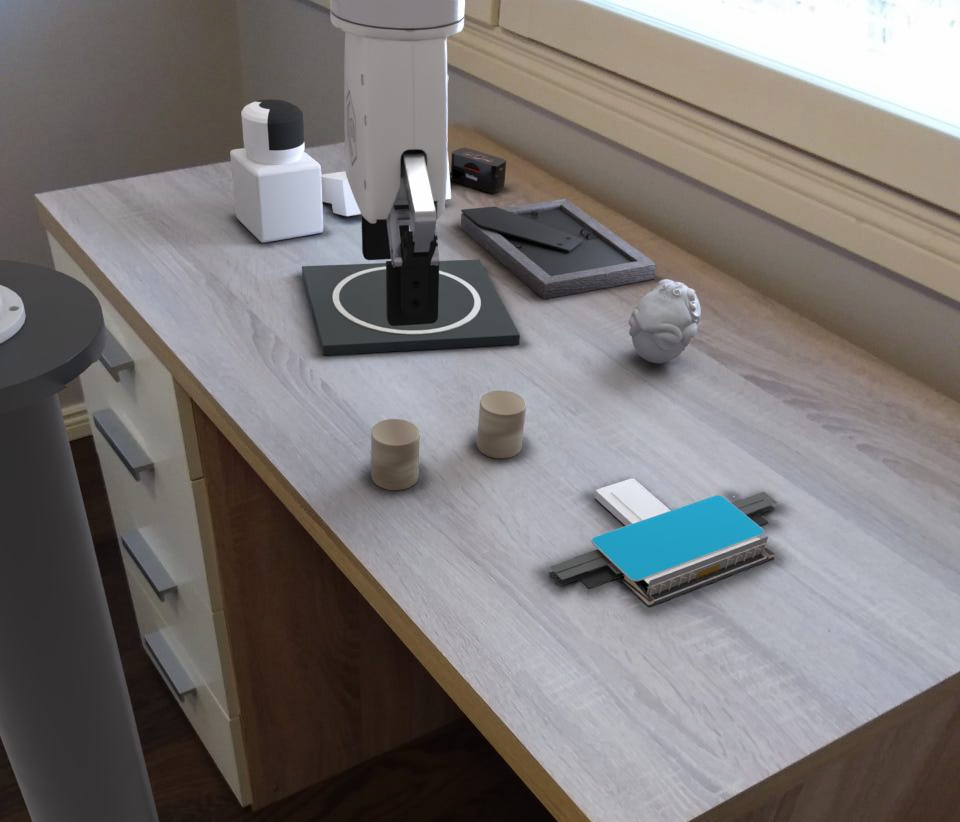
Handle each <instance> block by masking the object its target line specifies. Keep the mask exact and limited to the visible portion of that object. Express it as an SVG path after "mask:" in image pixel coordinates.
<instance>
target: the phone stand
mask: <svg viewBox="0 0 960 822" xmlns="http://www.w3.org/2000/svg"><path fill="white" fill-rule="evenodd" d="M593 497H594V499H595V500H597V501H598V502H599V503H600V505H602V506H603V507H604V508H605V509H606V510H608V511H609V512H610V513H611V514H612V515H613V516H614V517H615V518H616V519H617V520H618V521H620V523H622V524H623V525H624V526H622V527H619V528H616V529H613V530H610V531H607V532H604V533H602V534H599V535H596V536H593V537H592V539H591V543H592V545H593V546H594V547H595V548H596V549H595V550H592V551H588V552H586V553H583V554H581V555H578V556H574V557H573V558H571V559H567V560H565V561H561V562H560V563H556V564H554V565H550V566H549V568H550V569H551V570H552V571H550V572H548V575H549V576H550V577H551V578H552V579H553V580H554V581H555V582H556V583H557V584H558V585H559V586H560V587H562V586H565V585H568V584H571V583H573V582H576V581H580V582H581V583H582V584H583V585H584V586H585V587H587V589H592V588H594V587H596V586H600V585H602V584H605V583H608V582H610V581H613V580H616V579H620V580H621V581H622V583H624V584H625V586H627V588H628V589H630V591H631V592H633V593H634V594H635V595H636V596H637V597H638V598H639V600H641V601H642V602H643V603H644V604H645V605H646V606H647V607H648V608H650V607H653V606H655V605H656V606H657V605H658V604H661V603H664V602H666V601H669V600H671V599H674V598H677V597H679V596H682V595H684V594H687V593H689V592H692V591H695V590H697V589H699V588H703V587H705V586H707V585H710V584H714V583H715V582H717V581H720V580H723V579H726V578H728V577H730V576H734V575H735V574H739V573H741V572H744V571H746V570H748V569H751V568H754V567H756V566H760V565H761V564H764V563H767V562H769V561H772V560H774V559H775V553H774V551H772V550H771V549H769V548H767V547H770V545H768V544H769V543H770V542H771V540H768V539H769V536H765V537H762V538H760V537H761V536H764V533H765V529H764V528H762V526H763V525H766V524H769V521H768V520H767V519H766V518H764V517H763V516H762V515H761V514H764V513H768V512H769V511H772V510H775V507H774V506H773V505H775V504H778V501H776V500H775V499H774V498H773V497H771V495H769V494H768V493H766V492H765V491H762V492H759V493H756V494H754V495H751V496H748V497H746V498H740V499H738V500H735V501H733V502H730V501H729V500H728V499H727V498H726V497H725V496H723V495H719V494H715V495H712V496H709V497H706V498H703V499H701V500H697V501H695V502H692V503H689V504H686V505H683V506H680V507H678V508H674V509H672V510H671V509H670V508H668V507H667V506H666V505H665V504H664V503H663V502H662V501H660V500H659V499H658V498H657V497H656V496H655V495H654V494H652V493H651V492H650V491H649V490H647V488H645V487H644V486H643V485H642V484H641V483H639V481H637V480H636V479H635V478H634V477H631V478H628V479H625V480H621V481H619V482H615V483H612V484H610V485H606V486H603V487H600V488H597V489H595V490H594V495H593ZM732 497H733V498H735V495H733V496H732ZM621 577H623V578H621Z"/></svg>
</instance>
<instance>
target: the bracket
mask: <svg viewBox="0 0 960 822" xmlns="http://www.w3.org/2000/svg"><path fill="white" fill-rule="evenodd" d="M449 172H450V164H449V152H448V153H447V185H446V199H445V201H446V200H452V189H451V183H450V175H449ZM321 180H322V203H326V204H331V207H332V208H331V209H332V213H333V214H336V215H340V216H344V217H350V216H358V215H361V212H360V210H359V208H358V205H357V203H356V200H355V198H354V195H353V193H352V190H351V188H350V185H349V182H348V179H347V176H346V172H345V170H343V171H336V172H330V173H323V174H321Z"/></svg>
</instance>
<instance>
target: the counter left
mask: <svg viewBox="0 0 960 822" xmlns="http://www.w3.org/2000/svg"><path fill="white" fill-rule="evenodd" d="M420 431H421V430H420V429H419V428H418V426H417V425H416V424H414V422H412V421H408V420H406V419H401V418H400V419H399V418H388V419H383V420H381V421H379V422H376V423H375V424H374V425H373V426H372V428H371V430H370V477H371V480H372V482H373V483H374V484H375V485H376V486H377V487H379V488H382V489H385V490H387V491H403V490H407V489H409V488H412V487H413V486H415V485H416V484H417V483H418V481H419V478H420V477H419V474H420V472H419V471H420V443H421V442H420V441H421V437H420V436H421V432H420Z"/></svg>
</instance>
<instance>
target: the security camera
mask: <svg viewBox="0 0 960 822" xmlns="http://www.w3.org/2000/svg"><path fill="white" fill-rule="evenodd" d="M240 114H241V115H240V116H241V126H242V127H241V128H242V138H243V139H242V140H243V147H242V148H235V149H231V150H230V152H229V155H230V157H229V158H230V166H231V167H230V168H231V177H232V188H233V189H232V190H233V199H234V210H235V216H236V219H237V220H238V221H239V222H240V223H241V224H242V225H243V226H244V227H245V228H246V229H247V230H248V231H249V232H250V233H251V234H252V235H253V236H254V237H255V238H256V239H257V240H258V241H259V242H260V243H261V244H265V243H271V242H276V241H282V240H289V239H294V238H300V237H307V236H312V235H317V234H322V233H323V232H324V211H323V207H324V206H323V202H322V180H321V175H322V165H321V164H320V163H319V162H318V161H317V160H315V159H314V158H313V157H312V156H310V155H309V154H308V153H307V152H306V151H305V149H306V147H305V127H304V124H305V123H304V112H303V110H301V108H299V106H298V105H295V104H293V103H291V102H289V101H285V100H281V99H273V98H272V99H270V98H269V99H259V100H256V101H252V102H251V103H248V104H246V105H244V107H243V108H242V110H241V112H240Z"/></svg>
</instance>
